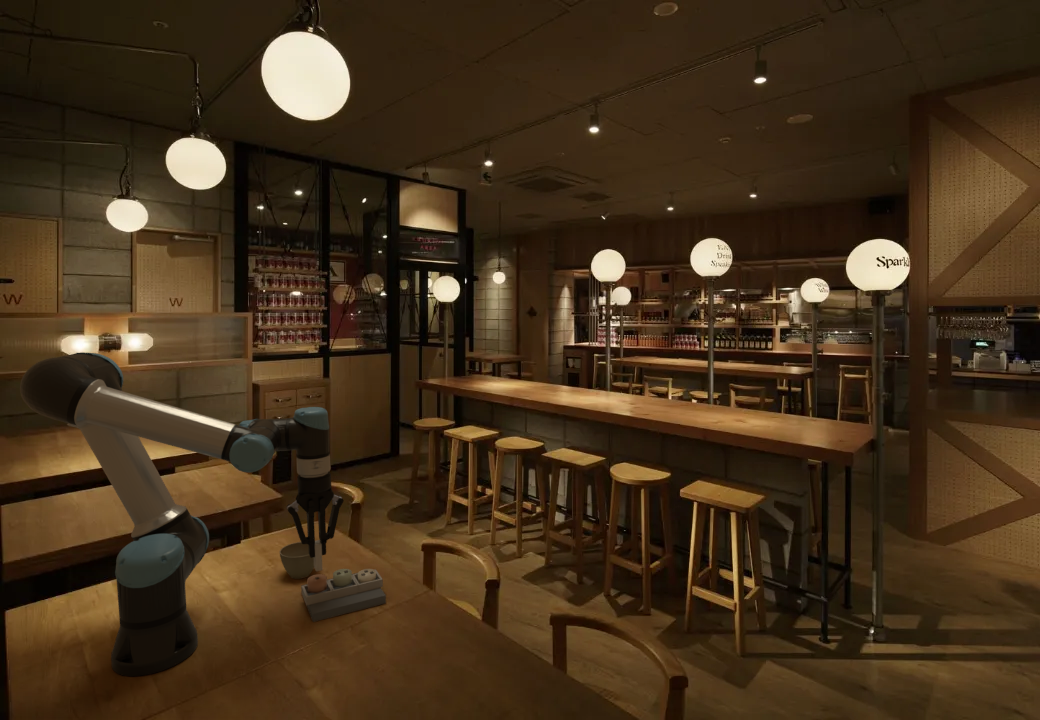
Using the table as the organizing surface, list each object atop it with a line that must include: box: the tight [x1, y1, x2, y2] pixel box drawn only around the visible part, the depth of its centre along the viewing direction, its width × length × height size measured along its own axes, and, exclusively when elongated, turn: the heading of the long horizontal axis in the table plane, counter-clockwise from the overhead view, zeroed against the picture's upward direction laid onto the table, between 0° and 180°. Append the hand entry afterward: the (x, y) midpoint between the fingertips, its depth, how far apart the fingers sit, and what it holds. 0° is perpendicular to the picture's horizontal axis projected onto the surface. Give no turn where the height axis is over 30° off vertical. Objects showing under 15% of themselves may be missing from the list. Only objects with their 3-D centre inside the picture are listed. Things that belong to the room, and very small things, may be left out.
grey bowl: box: [279, 541, 315, 580], centre depth 154 cm, size 10×10×7 cm
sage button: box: [332, 568, 353, 587], centre depth 142 cm, size 4×4×3 cm
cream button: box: [357, 568, 376, 584], centre depth 145 cm, size 4×4×3 cm
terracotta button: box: [306, 573, 328, 593], centre depth 139 cm, size 4×4×3 cm
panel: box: [300, 568, 387, 623], centre depth 143 cm, size 18×15×4 cm
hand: (318, 568), depth 139 cm, fingers closed
